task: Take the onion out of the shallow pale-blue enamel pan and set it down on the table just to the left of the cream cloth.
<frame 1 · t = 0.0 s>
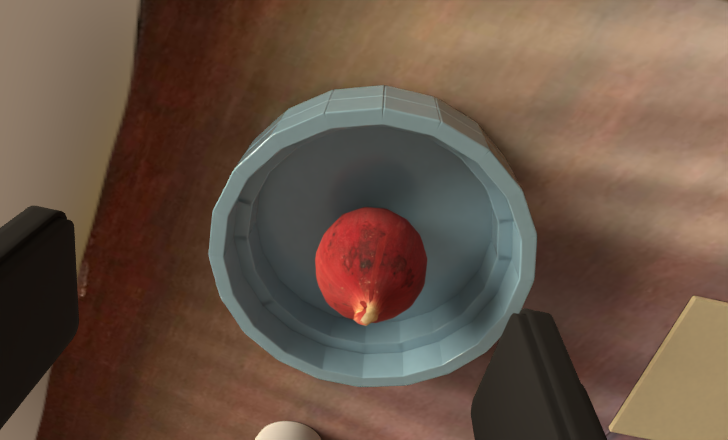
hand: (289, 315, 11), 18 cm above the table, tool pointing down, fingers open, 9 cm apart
onion: (373, 227, 31), resting on pan
pan: (373, 226, 31), on the table
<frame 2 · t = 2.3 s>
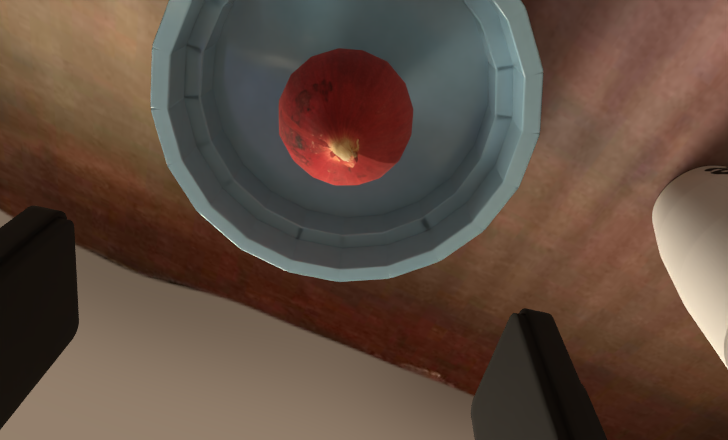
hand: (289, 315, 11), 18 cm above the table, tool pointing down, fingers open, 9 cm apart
onion: (350, 94, 26), resting on pan
pan: (350, 93, 27), on the table
cup: (697, 206, 29), on the table
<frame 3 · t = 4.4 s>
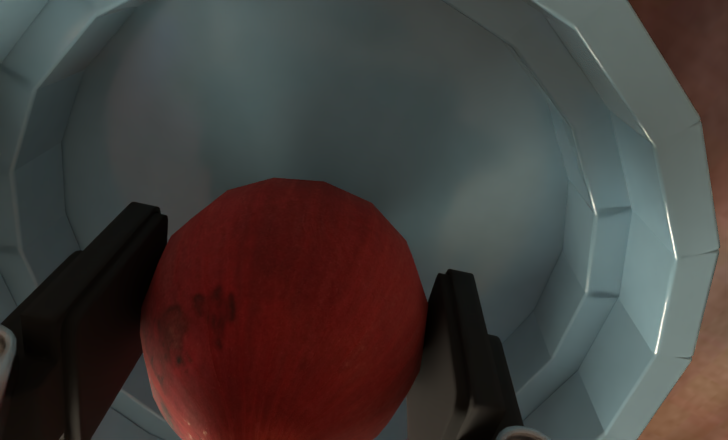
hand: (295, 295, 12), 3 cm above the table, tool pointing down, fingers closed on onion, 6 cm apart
onion: (313, 227, 15), resting on pan, touching gripper
pan: (314, 223, 15), on the table
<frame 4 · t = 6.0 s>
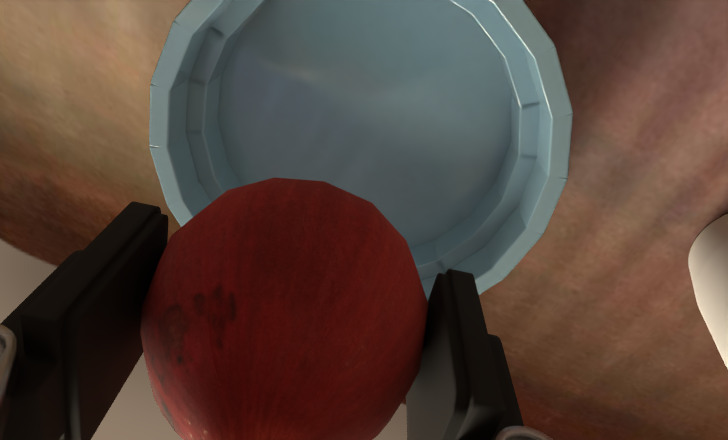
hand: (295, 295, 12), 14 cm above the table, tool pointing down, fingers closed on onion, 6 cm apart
onion: (313, 227, 15), point 11 cm above the table, touching gripper
pan: (363, 126, 25), on the table
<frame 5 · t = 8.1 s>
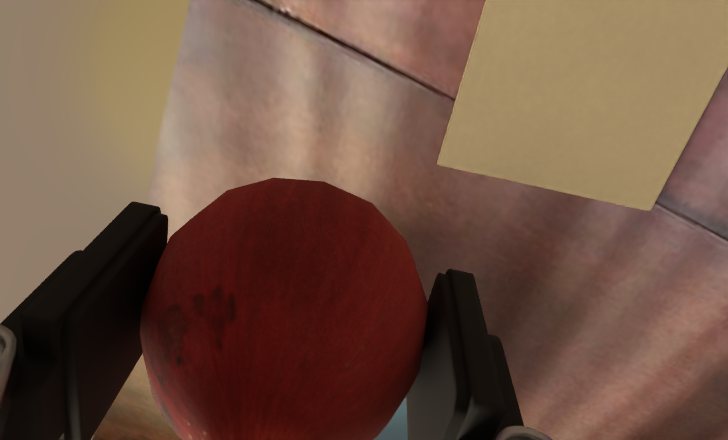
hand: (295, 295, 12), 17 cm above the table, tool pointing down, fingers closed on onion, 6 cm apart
onion: (313, 227, 15), point 14 cm above the table, touching gripper
pan: (360, 415, 38), on the table
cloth: (596, 56, 26), on the table
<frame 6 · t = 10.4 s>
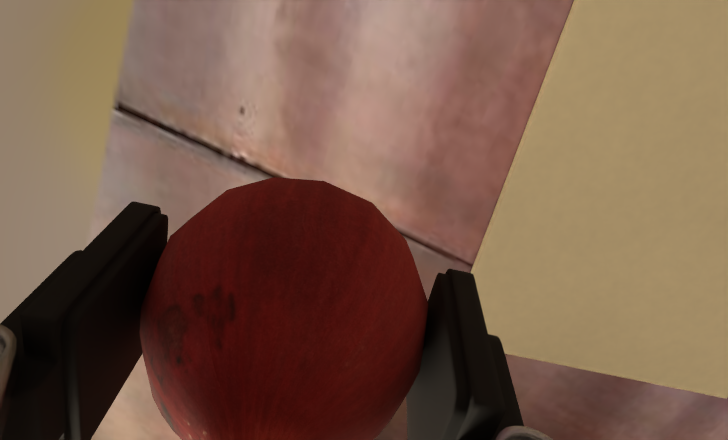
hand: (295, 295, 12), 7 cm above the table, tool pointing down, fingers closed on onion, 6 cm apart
onion: (313, 227, 15), point 4 cm above the table, touching gripper
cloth: (667, 218, 19), on the table
when the fingers open (3 cm above the table, at t = 11.9 s): onion stays where it is, on the table.
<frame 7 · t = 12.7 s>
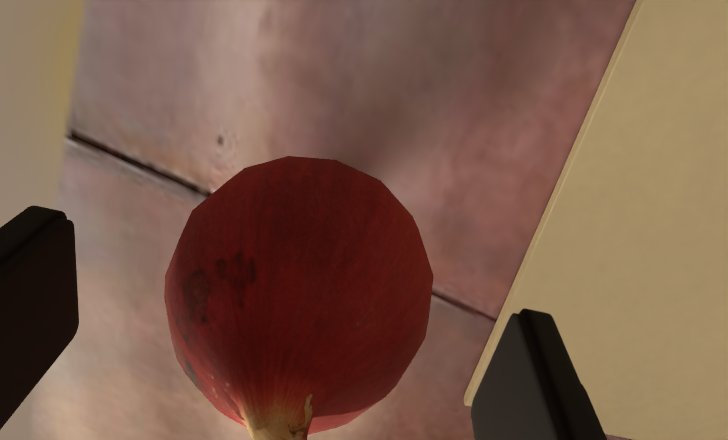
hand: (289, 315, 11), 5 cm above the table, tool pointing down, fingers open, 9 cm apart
onion: (323, 208, 15), on the table
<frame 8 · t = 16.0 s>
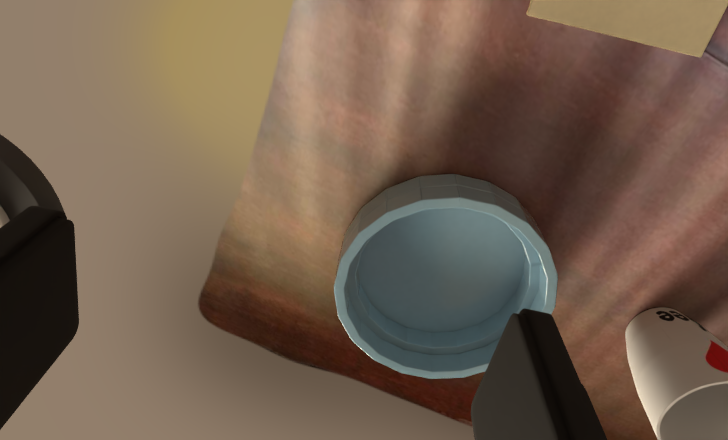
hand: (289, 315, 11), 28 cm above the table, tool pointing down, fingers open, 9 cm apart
pan: (439, 264, 44), on the table
cup: (654, 329, 46), on the table
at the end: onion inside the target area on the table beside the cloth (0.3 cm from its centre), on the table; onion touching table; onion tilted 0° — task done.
